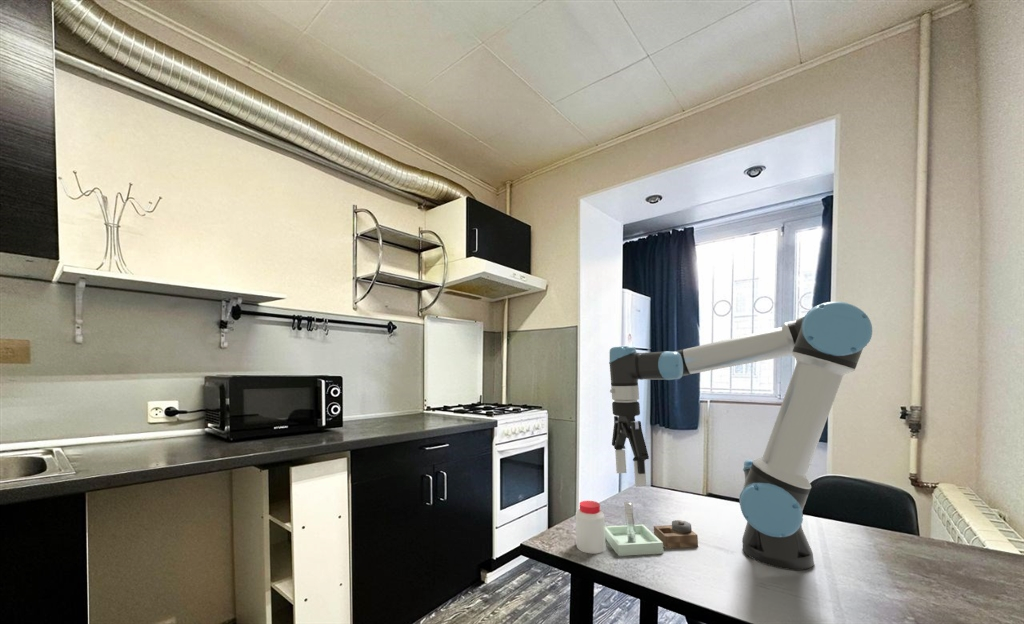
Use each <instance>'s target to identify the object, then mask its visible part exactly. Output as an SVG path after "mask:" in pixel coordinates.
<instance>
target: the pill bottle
mask: <svg viewBox="0 0 1024 624" xmlns="http://www.w3.org/2000/svg"><path fill="white" fill-rule="evenodd" d="M605 522H606V519H605V514H604V512H603V511H602V510H601V504H600V503H599V502H597V501H595V500H581V501H580V502H579V508H578V510H577V511H576V512H575V531H576V532H575V533H576V535H575V536H576V537H575V539H576V543H575V544H576V548H577V550H579V551H581V552H583V553H586V554H601V553H603V552H604V551H606V549H607V546H606V545H607V544H606V542H607V541H606V539H605V526H606V523H605Z"/></svg>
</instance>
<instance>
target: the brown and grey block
mask: <svg viewBox="0 0 1024 624" xmlns="http://www.w3.org/2000/svg"><path fill="white" fill-rule="evenodd" d="M653 534H654V535H655V536H656V537H657V538H658V539H660V540H661V541H662V542H663V548H665V549H678V548H679V549H681V548H697V547H698V548H699V541H698V540H699V537H698V534H697V533H696V532H694V531H693V530H692V524H691V523H690V522H688V521H685V520H682V519H681V520H678V519H677V520H673V521H671V524H670V525H654V526H653Z"/></svg>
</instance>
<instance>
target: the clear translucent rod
mask: <svg viewBox="0 0 1024 624" xmlns="http://www.w3.org/2000/svg"><path fill="white" fill-rule="evenodd" d="M624 512H625V525H626V527H627V539H628V543H636V535H635V525H636V524H635V516H634V515H635V514H634V513H635V512H634V503H633V502H631V501H626V502H624Z"/></svg>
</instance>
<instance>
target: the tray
mask: <svg viewBox="0 0 1024 624" xmlns="http://www.w3.org/2000/svg"><path fill="white" fill-rule="evenodd" d="M635 535H636V543H628V539H627V527H626V524H625V525H608V526H607V525H605V541H606V542H607V543H608V544H609V545H610V547H611V548H612V549H613V551H614V552H615V554H616V555H617V556H618V557H624V556H640V555H657V554H658V555H659V554H664V546H663V542H662V541H661V540H660V539H658V538H657V537H656V536H655V535H654V532H652V531H651V530H650V529H649V528H648V527H647V526H645V524H643V523H642V524H635Z"/></svg>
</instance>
